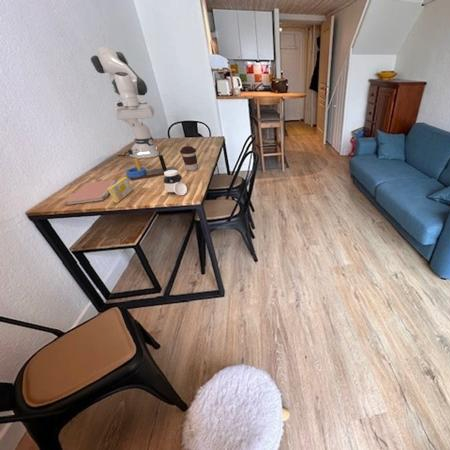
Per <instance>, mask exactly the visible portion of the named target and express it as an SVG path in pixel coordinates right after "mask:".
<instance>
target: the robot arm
mask: <svg viewBox="0 0 450 450" xmlns="http://www.w3.org/2000/svg"><path fill="white" fill-rule="evenodd" d="M90 64H91V66H92V68H93V69H94V70H95V71H96V72H97V73H99V74H107V73H108V75H109V79H110V83H111V85H112V88H113V90H114V91H113V92H114V93H115V94H117V96H118V98H119V99H120V100H118V101H115V102H113V104H114V114H115V117H116V119H117V120H119V121H124V122H125V123H126V124H127V125H128V126H129V127H130V128H131V131H132V132H133V135H134V139H133V141H134V144H133V146H132V147H131V148H129V149H127V151H125V152H124V154H117V155H118V156H119V157H125V156H126V155H127V154H129V157H130V158H134V159H135V158H138V159H139V160H140V159H150V158H154V157H157V156H158V155H160V152H159V150H158V148H157V146H156V143H155V142H154V138H153V136H152V133H151V131H150V130H151V129H150V128H149V126H148V125H147V124H145V119H149V118H150V119H151V118H153V116H154V115H155V108H154V107H153V105H152V104H151V103H150V102H148V101H145V100H144V99H142V98H141V97H140V96H145V95H146V94H147V93H148V87H147V84H146V82H145V81H144V79H142V78H141V77H140V76H139V75H138V74H137V73H136V72H135V70H133V68H132V67H131V66H130V65H129V61H128V59H127V57H126V55H124V54H123V53H122V52H121V51H115V52H114V51H113V50H112V49H111V48H109V47H107V46H100V47H99V48H98V49H97V54H96V55H93V56H91V57H90ZM138 119H141V120H142V121H141V122H139V120H138ZM158 157H159V156H158Z"/></svg>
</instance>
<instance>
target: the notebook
mask: <svg viewBox="0 0 450 450" xmlns="http://www.w3.org/2000/svg"><path fill="white" fill-rule="evenodd" d="M117 182H118V181H116V179H111V180H110V179H109V180H101V181H93V182H92V181H91V182H85V183H83V184H82V185H81V186H80V188H78V190H76V192H74V193H73V194H72V195H71V196H69V198H68V199H67V200H66V201H65V203H66V206H69V205H76V204H84V203H92V202H100V201H101V202H102V201H104V200H105V199H107V197H109V194H110V192H109V190H108V188H109V187H111V186H112V185H114V184H115V183H117Z"/></svg>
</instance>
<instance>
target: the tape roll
mask: <svg viewBox="0 0 450 450" xmlns="http://www.w3.org/2000/svg"><path fill="white" fill-rule="evenodd" d="M141 168H142V170H140V171H138V169H137V167H130V168H128V169H126V170H125V174H126V177H127V178H130V179H131V178H135V177H141V176H144V175H146V174H147V172H146V171H147V169H146V167H145V166H141Z"/></svg>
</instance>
